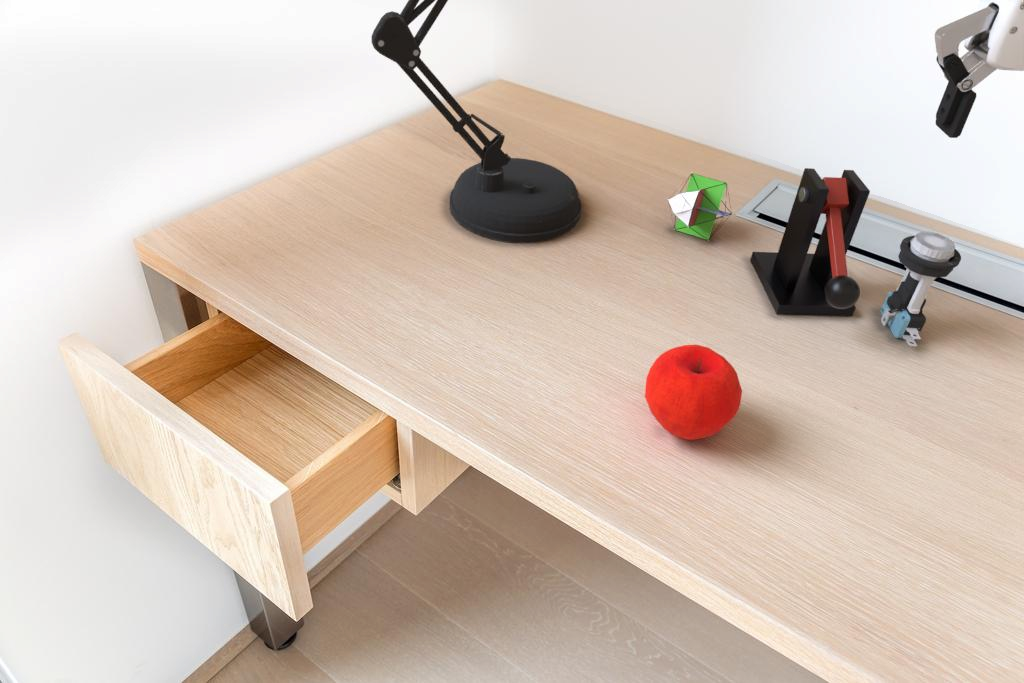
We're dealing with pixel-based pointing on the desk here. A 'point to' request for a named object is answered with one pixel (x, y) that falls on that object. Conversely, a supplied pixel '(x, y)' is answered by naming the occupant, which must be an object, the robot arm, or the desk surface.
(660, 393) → the apple
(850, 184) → the bracket
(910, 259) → the push button
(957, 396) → the desk surface
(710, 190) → the geometric puzzle
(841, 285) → the lever
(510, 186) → the desk lamp
